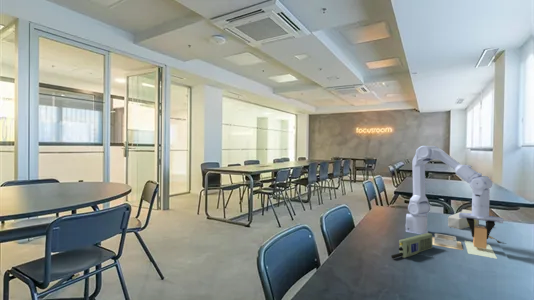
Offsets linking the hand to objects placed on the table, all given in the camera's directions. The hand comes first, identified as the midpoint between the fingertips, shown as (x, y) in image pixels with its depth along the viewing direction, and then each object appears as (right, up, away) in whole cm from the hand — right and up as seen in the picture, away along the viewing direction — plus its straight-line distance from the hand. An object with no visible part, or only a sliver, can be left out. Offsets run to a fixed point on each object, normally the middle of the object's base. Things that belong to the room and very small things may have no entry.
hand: (479, 237), depth 113 cm
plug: (0, -4, 0) cm, 4 cm away
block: (+19, -6, +36) cm, 41 cm away
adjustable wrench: (+20, -6, +19) cm, 28 cm away
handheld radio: (-31, -6, -4) cm, 32 cm away
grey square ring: (-10, -5, +6) cm, 13 cm away
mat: (0, -5, 0) cm, 5 cm away
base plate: (-10, -5, +6) cm, 13 cm away
